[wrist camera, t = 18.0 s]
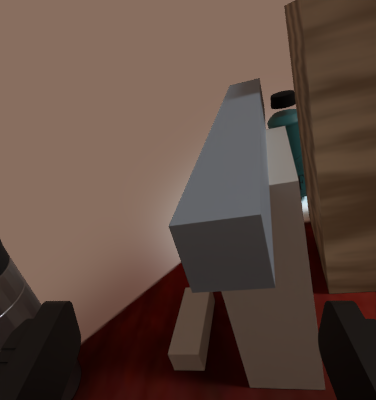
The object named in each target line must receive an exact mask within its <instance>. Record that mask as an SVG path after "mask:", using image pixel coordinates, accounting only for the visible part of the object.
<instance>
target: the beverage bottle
mask: <svg viewBox="0 0 376 400" xmlns="http://www.w3.org/2000/svg"><path fill="white" fill-rule="evenodd" d="M294 104H296V100H295V92H294V91H293V90H288V91H281V92H278V93H275V94H273V95H272V96H271V108H272V109H282V108H286V107H290V106H292V105H294ZM267 124H268V128H269V129H272V128H277V127H282V126H285V128H286V132H287V136H288V140H289V144H290V148H291V152H292V156H293V160H294V164H295V168H296V172H297V176H298V180H299V187H300V195H301V197H305V196H307V194H306V185H305V177H304V168H303V160H302V151H301V143H300V134H299V126H298V117H297V109H288V110H283V111H279V112H277V113H275V114H274V115H272V117H271V118H270V119H269V121H268V123H267Z"/></svg>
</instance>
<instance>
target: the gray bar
mask: <svg viewBox="0 0 376 400" xmlns="http://www.w3.org/2000/svg"><path fill="white" fill-rule="evenodd" d="M169 228H170V231H171V234H172V237H173V240H174V242H175V245H176V248H177V251H178V254H179V257H180V259H181V262H182V265H183V268H184V271H185V274H186V276H187V279H188V282H189V285H190V288H191V291H192V293H199V292H216V291H233V290H250V289H266V288H275V273H274V257H273V241H272V225H271V208H270V192H269V176H268V160H267V144H266V128H265V112H264V103H263V97H262V91H261V85H260V79H259V78H258V79H254V80H251V81H247V82H242V83H238V84H235V85H230V87H229V89H228V91H227V93H226V96H225V98H224V100H223V103H222V105H221V107H220V109H219V112H218V114H217V116H216V119H215V121H214V123H213V125H212V128H211V130H210V133H209V135H208V137H207V139H206V142H205V144H204V146H203V148H202V151H201V153H200V155H199V158H198V160H197V162H196V165H195V167H194V169H193V171H192V174H191V176H190V178H189V181H188V183H187V185H186V188H185V190H184V192H183V194H182V197H181V199H180V201H179V204H178V206H177V208H176V211H175V213H174V215H173V217H172V220H171V222H170V224H169Z"/></svg>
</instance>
